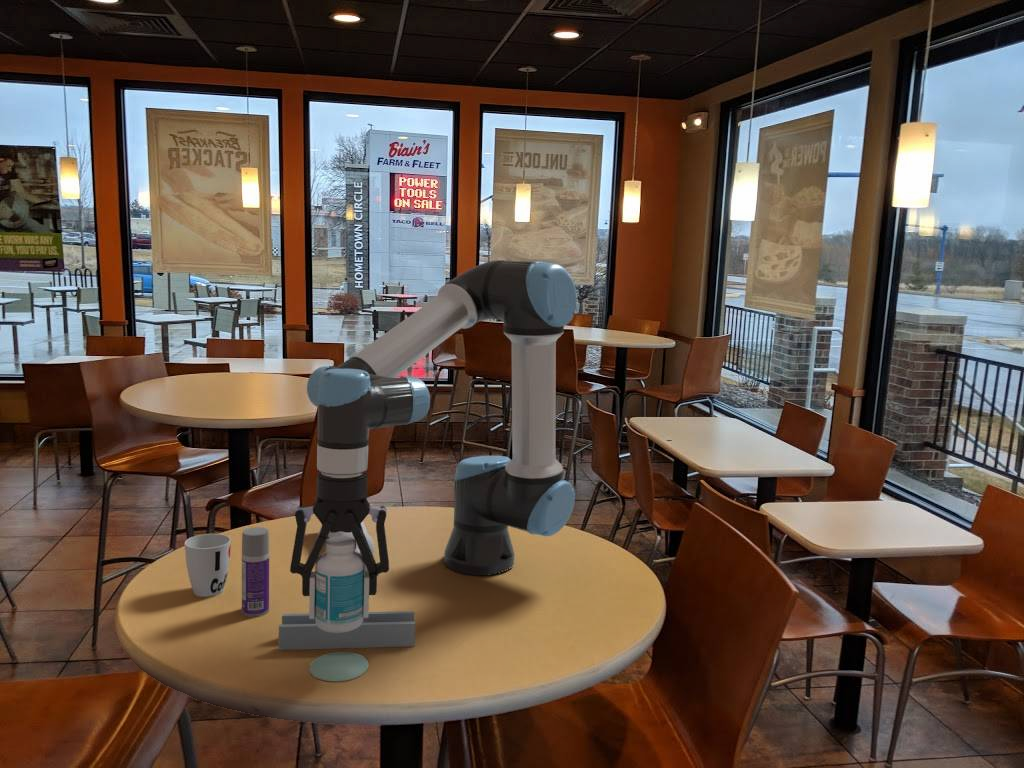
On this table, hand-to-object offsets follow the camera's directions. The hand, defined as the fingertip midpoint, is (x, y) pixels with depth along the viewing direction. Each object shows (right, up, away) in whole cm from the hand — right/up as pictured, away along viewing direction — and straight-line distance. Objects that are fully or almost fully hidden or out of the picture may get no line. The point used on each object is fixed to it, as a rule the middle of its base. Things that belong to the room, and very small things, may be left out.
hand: (339, 614), depth 123 cm
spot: (0, -9, +1) cm, 9 cm away
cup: (-31, -4, +27) cm, 41 cm away
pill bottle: (0, -2, 0) cm, 2 cm away
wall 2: (-1, -7, +12) cm, 14 cm away
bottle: (-9, -1, +49) cm, 50 cm away
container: (-19, -5, +19) cm, 28 cm away
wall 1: (0, -8, +8) cm, 11 cm away
